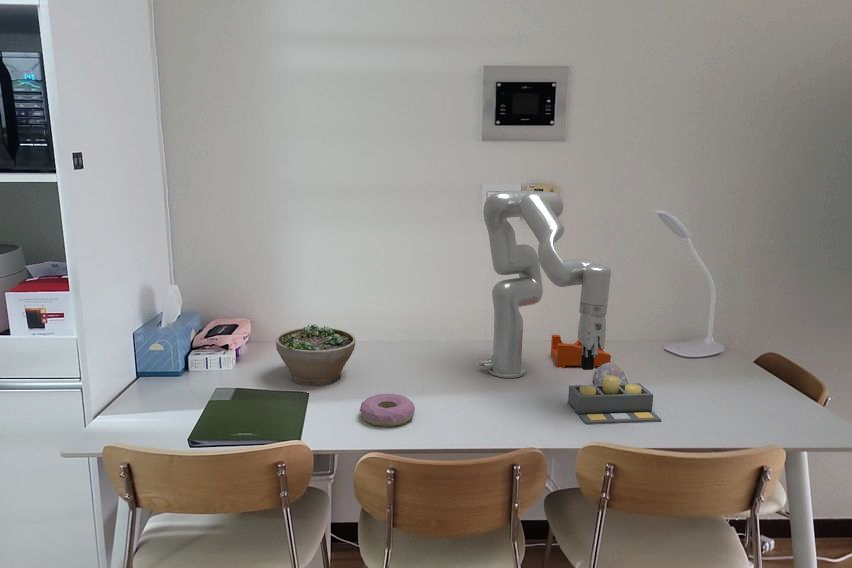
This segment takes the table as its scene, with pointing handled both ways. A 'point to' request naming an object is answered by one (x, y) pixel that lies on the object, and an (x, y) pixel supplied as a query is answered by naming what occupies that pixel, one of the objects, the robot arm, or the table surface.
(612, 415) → the strip
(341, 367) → the planter
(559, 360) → the tape dispenser
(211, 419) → the table surface
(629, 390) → the button right
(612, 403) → the grey compartment tray
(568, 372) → the table surface
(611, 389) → the button mid
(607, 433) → the table surface
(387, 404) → the donut
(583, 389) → the button left
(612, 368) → the stone
